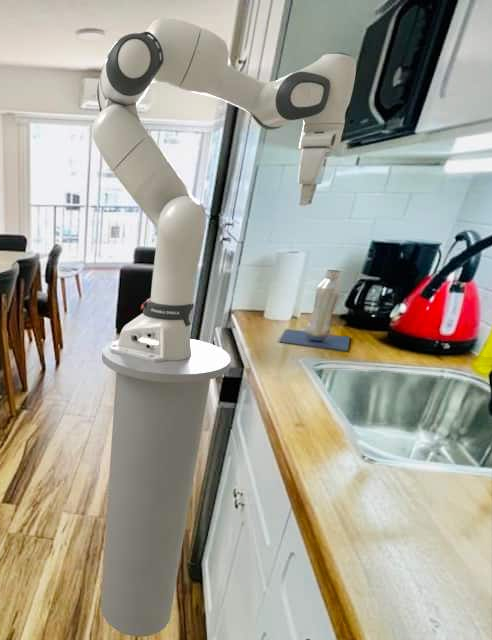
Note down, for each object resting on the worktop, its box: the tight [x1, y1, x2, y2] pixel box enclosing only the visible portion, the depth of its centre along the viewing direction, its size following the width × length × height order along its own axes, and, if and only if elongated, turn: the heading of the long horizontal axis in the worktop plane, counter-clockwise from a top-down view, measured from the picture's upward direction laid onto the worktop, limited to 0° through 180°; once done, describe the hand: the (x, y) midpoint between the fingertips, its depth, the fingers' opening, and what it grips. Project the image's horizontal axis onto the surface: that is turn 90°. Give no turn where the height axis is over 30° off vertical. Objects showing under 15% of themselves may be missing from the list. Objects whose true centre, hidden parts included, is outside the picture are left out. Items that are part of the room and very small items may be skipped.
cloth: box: [279, 329, 351, 352], centre depth 146 cm, size 18×16×1 cm
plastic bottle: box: [305, 269, 342, 341], centre depth 141 cm, size 6×7×20 cm
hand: (305, 204), depth 122 cm, fingers open, 8 cm apart
